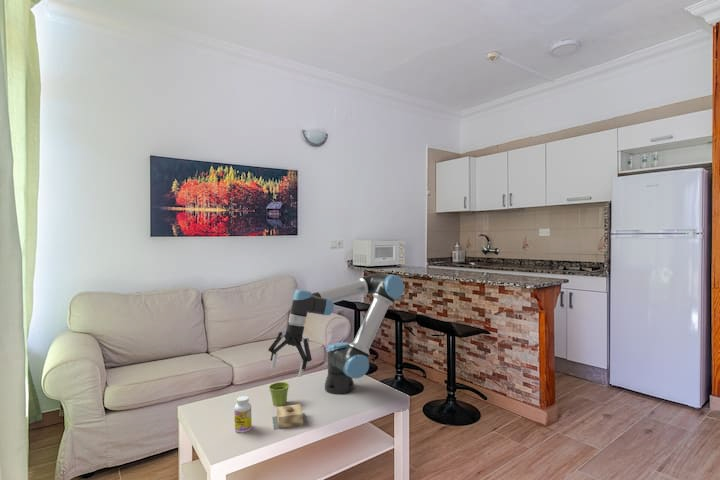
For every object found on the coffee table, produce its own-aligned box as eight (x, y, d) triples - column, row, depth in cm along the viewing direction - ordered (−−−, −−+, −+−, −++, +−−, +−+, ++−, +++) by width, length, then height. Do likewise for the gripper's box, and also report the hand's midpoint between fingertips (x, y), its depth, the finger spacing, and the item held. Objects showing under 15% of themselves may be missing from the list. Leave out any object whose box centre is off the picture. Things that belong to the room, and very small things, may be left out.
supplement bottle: (231, 431, 161) (230, 400, 160) (241, 424, 167) (241, 394, 167) (245, 434, 158) (244, 402, 158) (255, 426, 164) (254, 396, 164)
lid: (300, 414, 175) (300, 402, 175) (303, 424, 165) (302, 411, 165) (277, 417, 172) (276, 405, 172) (278, 428, 162) (278, 415, 162)
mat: (304, 413, 176) (304, 412, 176) (308, 425, 165) (308, 424, 165) (272, 417, 172) (272, 416, 172) (273, 430, 161) (273, 429, 161)
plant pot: (285, 409, 180) (284, 390, 180) (265, 407, 182) (265, 389, 182) (292, 400, 190) (292, 382, 189) (274, 399, 192) (273, 381, 191)
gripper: (267, 318, 177) (257, 366, 175) (319, 331, 170) (308, 381, 168) (275, 318, 184) (265, 364, 182) (324, 330, 177) (315, 378, 175)
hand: (286, 372), depth 175 cm, fingers open, 13 cm apart
